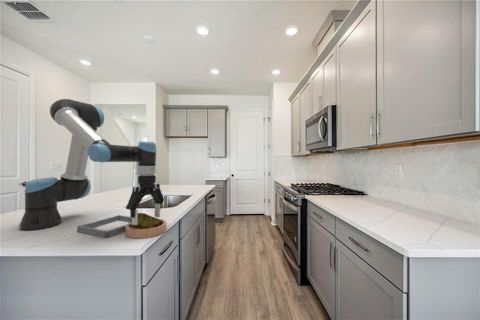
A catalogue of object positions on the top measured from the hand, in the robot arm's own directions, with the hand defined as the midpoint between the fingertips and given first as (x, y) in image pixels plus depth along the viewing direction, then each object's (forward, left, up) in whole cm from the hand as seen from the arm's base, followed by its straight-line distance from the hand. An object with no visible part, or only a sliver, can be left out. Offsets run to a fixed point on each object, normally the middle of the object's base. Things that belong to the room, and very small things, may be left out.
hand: (146, 220), depth 98 cm
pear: (0, 0, -5) cm, 5 cm away
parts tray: (-19, -2, -5) cm, 20 cm away
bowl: (0, 0, -5) cm, 5 cm away
